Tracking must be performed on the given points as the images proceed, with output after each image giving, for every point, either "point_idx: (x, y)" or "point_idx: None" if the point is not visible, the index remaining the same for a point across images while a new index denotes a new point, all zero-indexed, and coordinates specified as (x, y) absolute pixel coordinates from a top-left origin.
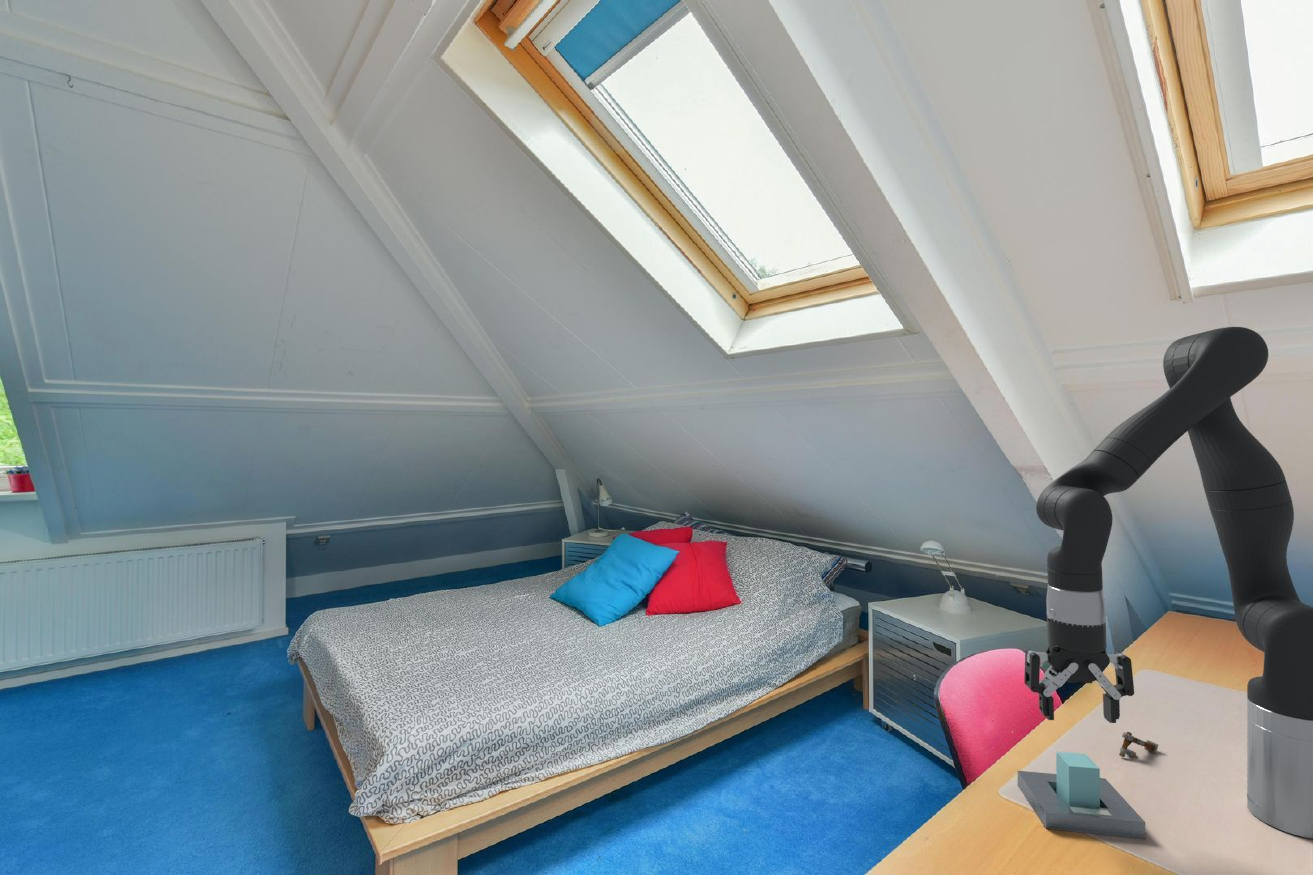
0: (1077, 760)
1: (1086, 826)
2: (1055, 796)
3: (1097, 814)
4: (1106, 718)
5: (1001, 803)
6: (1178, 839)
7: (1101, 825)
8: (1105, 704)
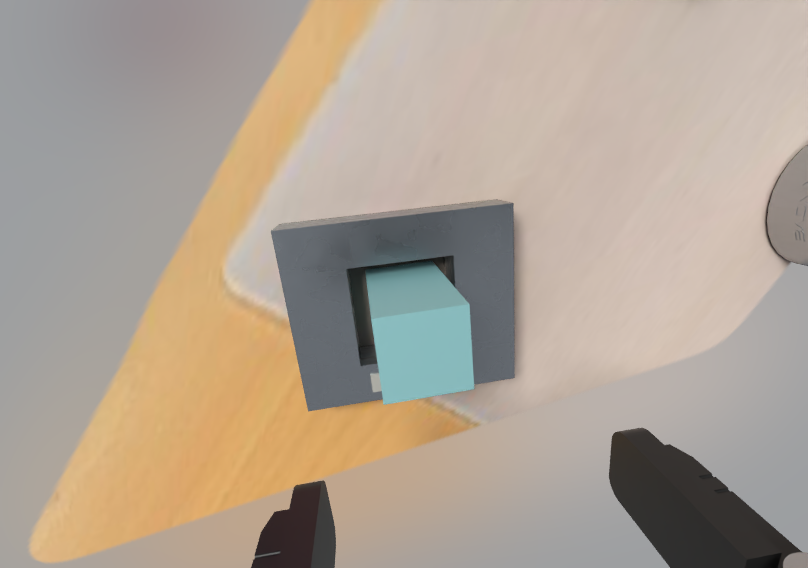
0: (424, 358)
1: None
2: (348, 338)
3: None
4: (615, 456)
5: (226, 323)
6: (562, 338)
7: None
8: (678, 517)
